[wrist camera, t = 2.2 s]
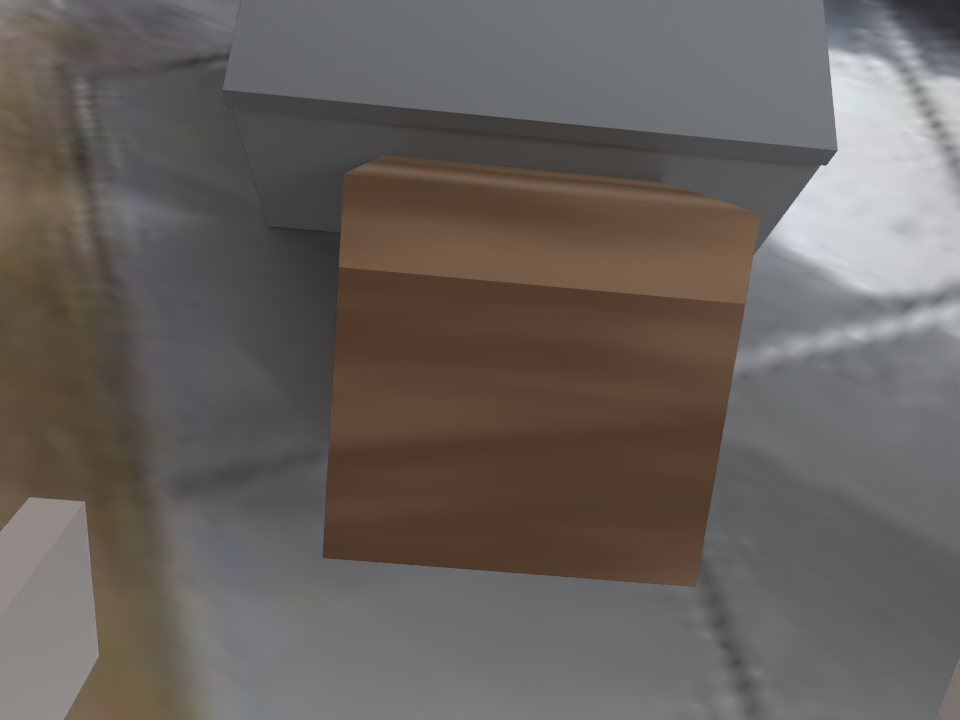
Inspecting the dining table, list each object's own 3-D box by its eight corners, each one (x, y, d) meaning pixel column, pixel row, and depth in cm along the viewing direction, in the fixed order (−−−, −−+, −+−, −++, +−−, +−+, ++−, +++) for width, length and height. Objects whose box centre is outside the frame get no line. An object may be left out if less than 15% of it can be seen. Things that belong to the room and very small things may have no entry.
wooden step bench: (625, 632, 29) (787, 526, 17) (343, 611, 28) (295, 486, 16) (623, 272, 34) (742, -4, 22) (387, 250, 34) (377, -43, 22)
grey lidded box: (745, 272, 34) (837, 150, 27) (264, 228, 34) (222, 89, 26) (734, 57, 38) (813, -103, 31) (302, 13, 37) (275, -162, 30)
